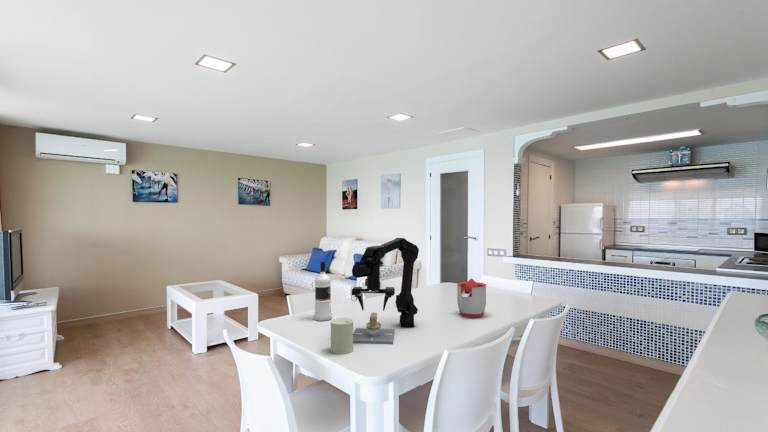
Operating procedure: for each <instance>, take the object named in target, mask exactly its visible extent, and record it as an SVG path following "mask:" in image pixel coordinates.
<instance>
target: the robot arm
mask: <svg viewBox="0 0 768 432" xmlns="http://www.w3.org/2000/svg"><path fill="white" fill-rule="evenodd" d="M395 250H399V252H400V256H401V259H402V261H403V264H402V265H403V267H402V277H401V288H400V292H399V294H396V296H395V293H396V292H395V291H396V290H395V287H394V286H386V287H385V288H381V281H380V280H381V265H384V262H383V261H381V260H382V259H383V258H384V257H385V255H386V254H388V253H390V252H393V251H395ZM419 251H420V250H419V247H418V246H417V245H416V244H415V243H413V242H411V241H409V240H407V239H406V238H405V237H395V238H394V239H392V240H389V241H387V242H385V243H383V244H380V245H372V246H368V247H366V248H365V250H364V252H363V254H362V256H361V258H360V260H359V261H355V263H354V265H353V266H352V268H351V273H352V276H353V278H355V279H357V278H358V279H359V278H365V277H366V278H365V282H364V285H365V287H366V288H363V286H354V287H353V288H352V289H351V296H354V298H357V300H358V301H357V302H359V305H360V308H361V310H362V311H364V310H365V307H364V297H363V296H364V294H384V298H383V307H382V311H383V312H385V309H386V306H387V303H388V301H389V298H390V299H391V298H392V297H394V296H395V307H396V309H397V312H398V313H400V315H399V325H400V328H415V315H416V314H418V311H419V309H418V308H417V306H416V305H415V304H414V303H415V301H414V296H413V294H412V287H413V277H414V276H413V274H414V266H415V262H416V261H417V259H418V256H419Z"/></svg>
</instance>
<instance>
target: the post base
mask: <svg viewBox="0 0 768 432" xmlns="http://www.w3.org/2000/svg"><path fill="white" fill-rule="evenodd" d="M395 331H396V330H395V328H379V329H368V328H365V327H363V328H361V327H356V328H355V329H354V331H353V344H365V345H367V344H368V345H369V344H375V345H377V344H378V345H394V339H395Z"/></svg>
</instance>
